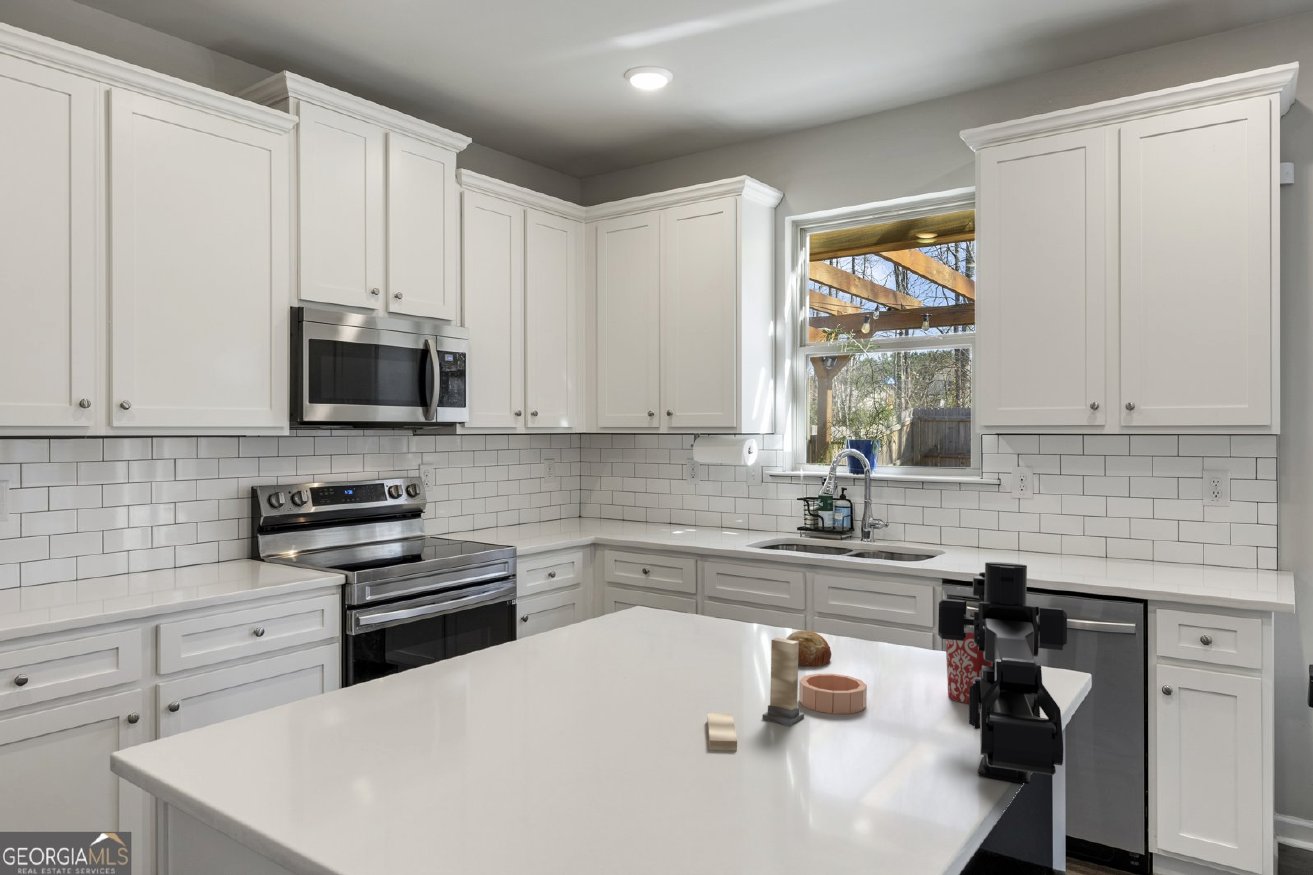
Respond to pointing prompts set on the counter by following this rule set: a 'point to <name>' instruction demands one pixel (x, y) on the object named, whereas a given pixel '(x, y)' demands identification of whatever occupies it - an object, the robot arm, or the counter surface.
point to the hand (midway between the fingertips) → (997, 616)
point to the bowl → (833, 693)
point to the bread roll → (811, 648)
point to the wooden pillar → (784, 683)
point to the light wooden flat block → (721, 732)
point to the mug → (963, 666)
